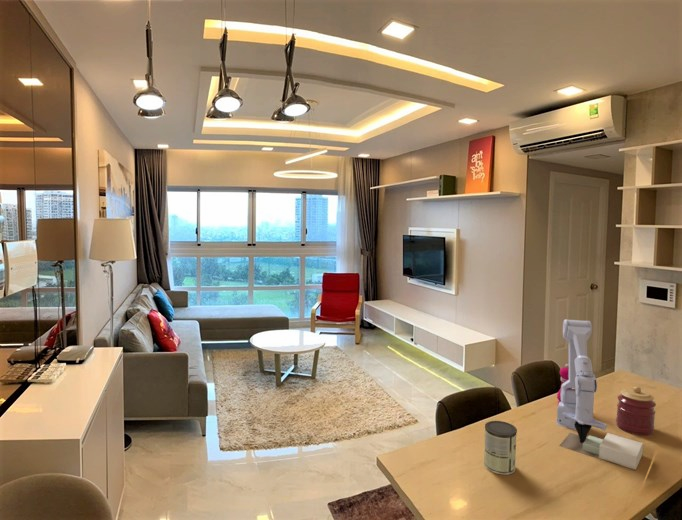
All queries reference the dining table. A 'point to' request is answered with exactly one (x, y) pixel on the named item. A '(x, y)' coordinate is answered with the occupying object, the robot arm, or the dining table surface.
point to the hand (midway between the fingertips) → (582, 442)
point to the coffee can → (500, 447)
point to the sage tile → (592, 444)
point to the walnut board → (581, 447)
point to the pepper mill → (563, 379)
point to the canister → (636, 411)
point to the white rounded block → (621, 450)
